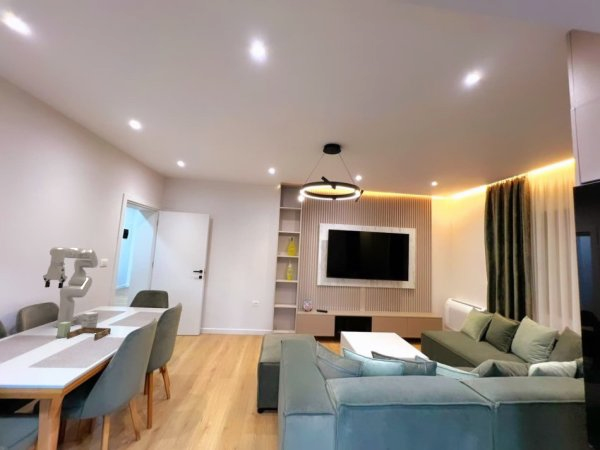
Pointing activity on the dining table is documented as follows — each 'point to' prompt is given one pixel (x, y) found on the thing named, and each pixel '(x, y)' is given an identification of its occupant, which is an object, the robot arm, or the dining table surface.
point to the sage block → (63, 329)
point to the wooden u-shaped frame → (99, 332)
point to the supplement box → (89, 319)
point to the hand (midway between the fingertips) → (53, 287)
